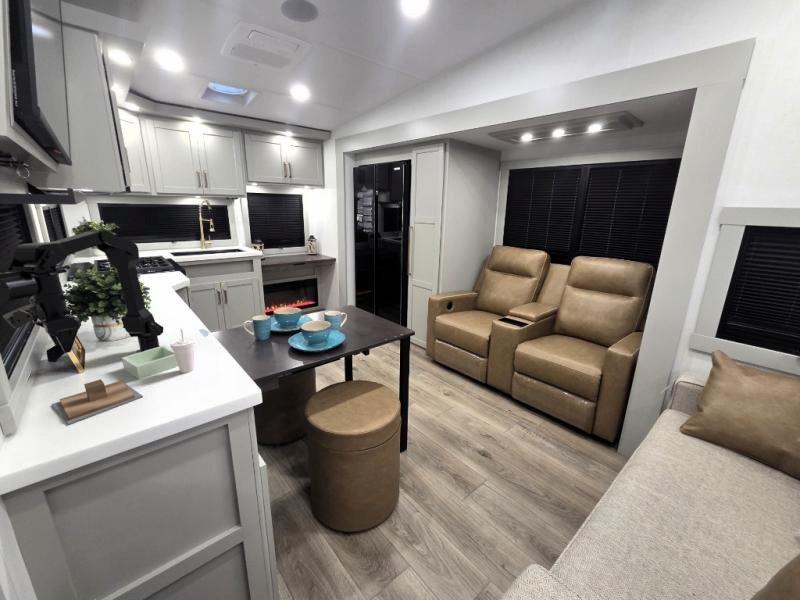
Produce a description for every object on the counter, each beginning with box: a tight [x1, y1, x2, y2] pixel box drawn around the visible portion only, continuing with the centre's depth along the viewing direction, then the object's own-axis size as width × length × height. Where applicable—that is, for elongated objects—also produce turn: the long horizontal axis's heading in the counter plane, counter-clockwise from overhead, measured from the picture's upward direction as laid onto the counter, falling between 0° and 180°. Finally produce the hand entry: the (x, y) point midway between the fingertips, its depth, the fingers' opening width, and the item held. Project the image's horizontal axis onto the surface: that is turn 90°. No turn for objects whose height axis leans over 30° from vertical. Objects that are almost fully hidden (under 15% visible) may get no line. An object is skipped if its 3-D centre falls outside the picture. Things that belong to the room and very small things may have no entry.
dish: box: [121, 345, 179, 380], centre depth 109 cm, size 12×12×4 cm
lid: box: [59, 379, 135, 420], centre depth 89 cm, size 13×13×5 cm
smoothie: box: [169, 328, 195, 374], centre depth 106 cm, size 6×6×14 cm
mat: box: [51, 380, 144, 426], centre depth 90 cm, size 15×15×1 cm
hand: (63, 348), depth 92 cm, fingers open, 9 cm apart
